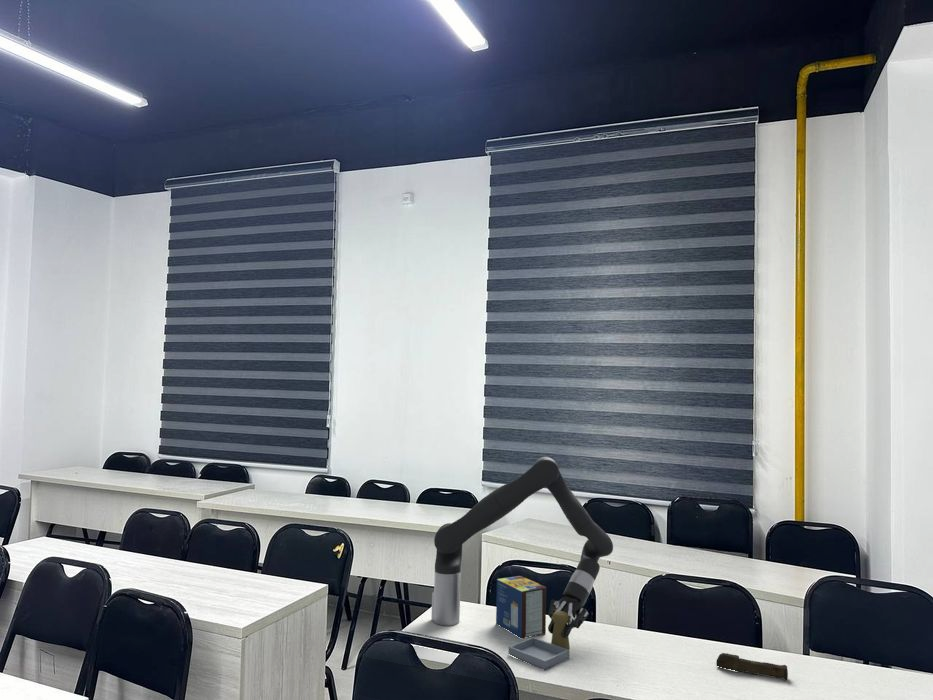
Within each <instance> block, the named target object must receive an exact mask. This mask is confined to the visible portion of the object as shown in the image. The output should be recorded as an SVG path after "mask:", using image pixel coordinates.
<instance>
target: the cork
mask: <svg viewBox="0 0 933 700" xmlns="http://www.w3.org/2000/svg"><path fill="white" fill-rule="evenodd" d="M552 619H553V622H554V627H553V634H551V642H550V643H551V644H554V645H557V646H559V647H562V648H565V649H568V650H569V651H570V650H571V646H570V638H569V636H568V637H567V638H566V639H565V638H563V637H562V632H563V630H564V627H565V625H566V624H568V623H567V622H568V620H569V617H568V614H567V613H566V612H563V611H556V612H554V613H553V616H552ZM552 619H551V620H552Z"/></svg>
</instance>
